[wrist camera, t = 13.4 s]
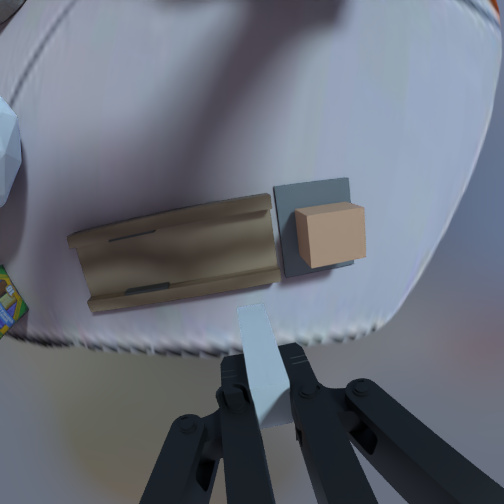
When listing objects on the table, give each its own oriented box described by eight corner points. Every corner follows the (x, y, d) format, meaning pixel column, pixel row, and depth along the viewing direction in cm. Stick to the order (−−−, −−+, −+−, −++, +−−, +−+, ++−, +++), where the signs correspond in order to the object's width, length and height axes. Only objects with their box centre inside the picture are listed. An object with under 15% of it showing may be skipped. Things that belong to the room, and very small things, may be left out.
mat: (273, 186, 34) (274, 186, 34) (347, 177, 35) (348, 177, 35) (285, 276, 38) (285, 277, 38) (352, 263, 38) (353, 263, 38)
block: (294, 209, 34) (306, 215, 30) (345, 201, 35) (363, 207, 30) (299, 255, 36) (311, 268, 31) (348, 245, 37) (365, 257, 32)
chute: (74, 232, 33) (66, 237, 30) (266, 193, 34) (270, 195, 32) (97, 304, 36) (90, 312, 33) (277, 273, 38) (281, 281, 35)
